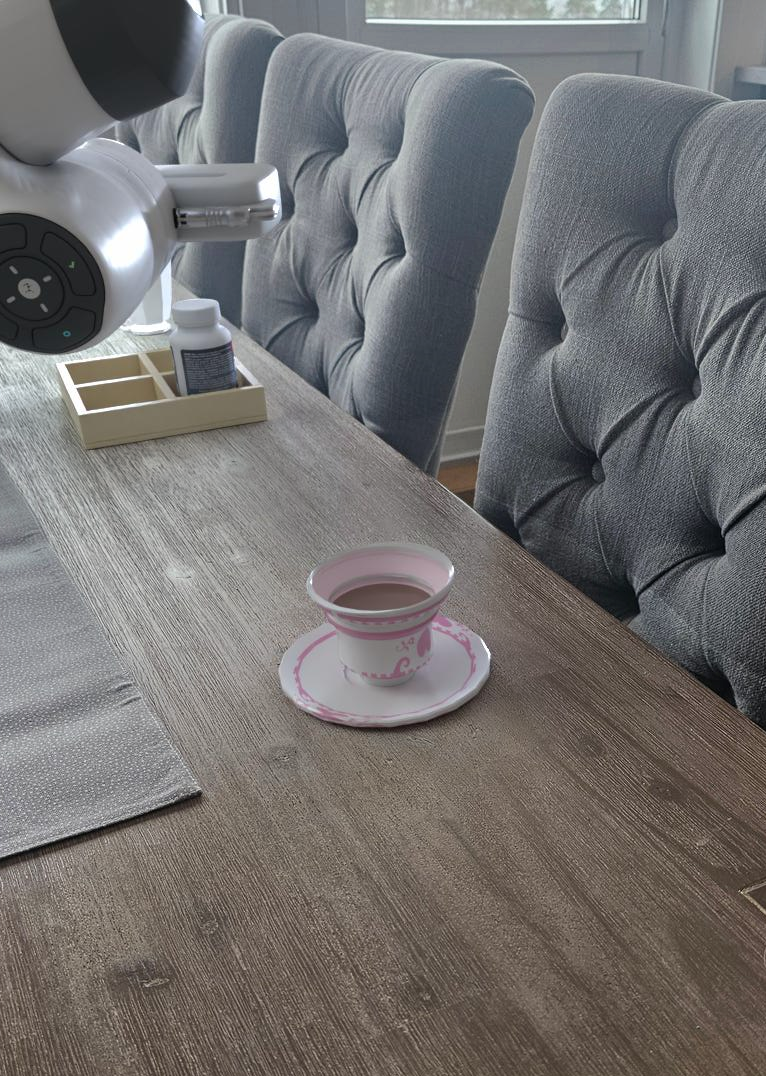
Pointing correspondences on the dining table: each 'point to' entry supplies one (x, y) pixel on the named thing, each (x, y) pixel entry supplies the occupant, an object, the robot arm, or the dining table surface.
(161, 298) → the cup
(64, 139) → the robot arm
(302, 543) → the dining table surface
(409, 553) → the teacup
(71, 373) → the divided tray
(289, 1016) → the dining table surface
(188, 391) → the pill bottle
